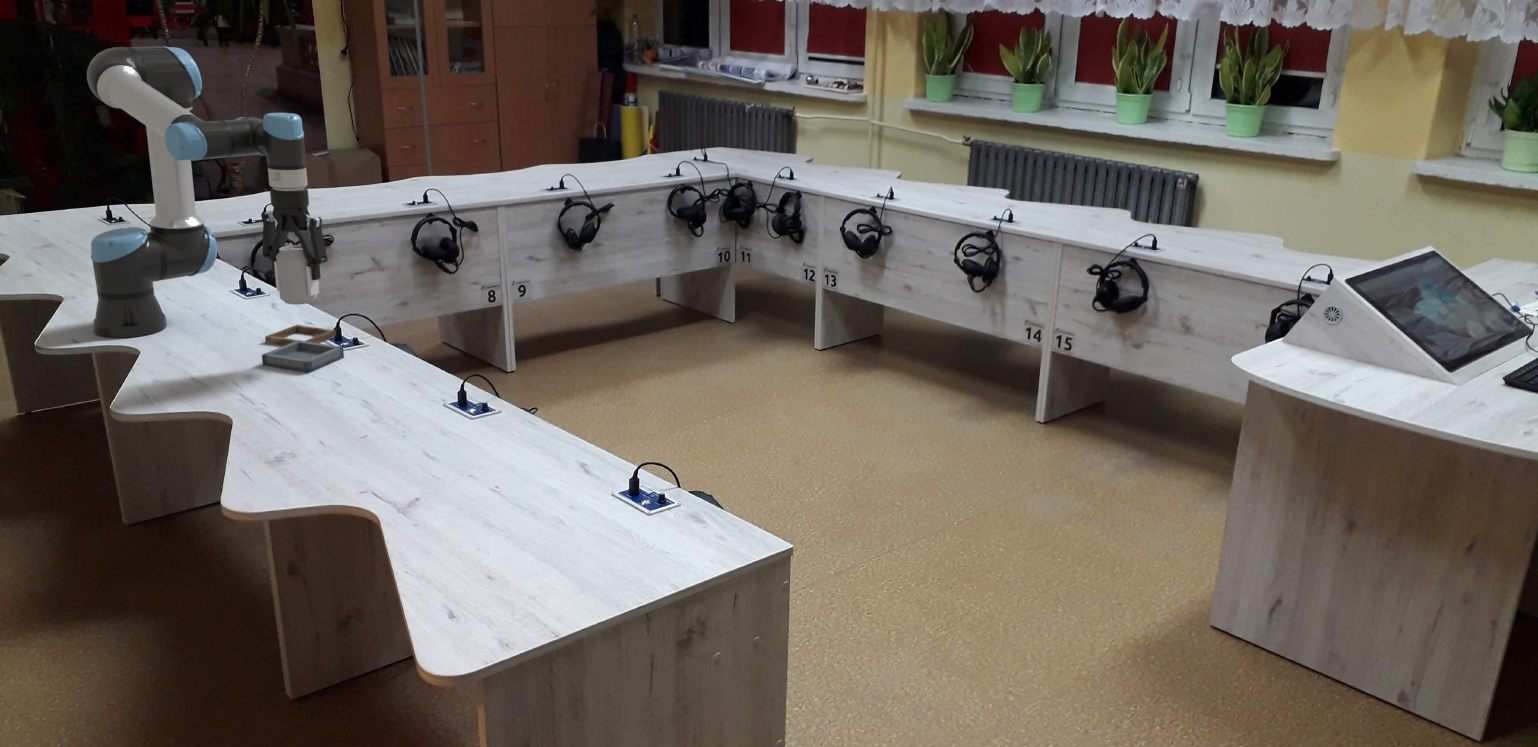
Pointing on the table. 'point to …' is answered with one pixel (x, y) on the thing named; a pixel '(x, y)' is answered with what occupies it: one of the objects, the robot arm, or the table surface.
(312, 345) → the tray
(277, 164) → the robot arm
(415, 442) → the table surface
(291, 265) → the can
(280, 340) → the frame
